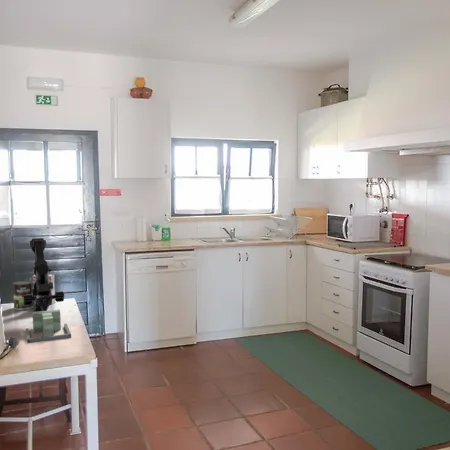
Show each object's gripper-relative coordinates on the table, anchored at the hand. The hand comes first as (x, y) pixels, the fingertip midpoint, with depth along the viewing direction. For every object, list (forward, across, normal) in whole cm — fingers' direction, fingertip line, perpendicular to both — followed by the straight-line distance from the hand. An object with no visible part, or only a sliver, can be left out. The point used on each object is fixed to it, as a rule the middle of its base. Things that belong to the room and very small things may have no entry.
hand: (45, 313), depth 242 cm
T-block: (+13, 0, -4) cm, 13 cm away
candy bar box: (-27, +2, +38) cm, 47 cm away
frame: (+13, 0, -4) cm, 14 cm away
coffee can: (-24, -9, +35) cm, 43 cm away
